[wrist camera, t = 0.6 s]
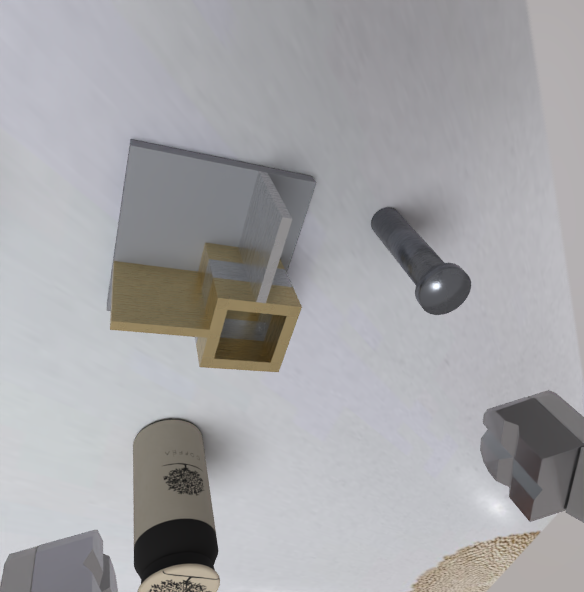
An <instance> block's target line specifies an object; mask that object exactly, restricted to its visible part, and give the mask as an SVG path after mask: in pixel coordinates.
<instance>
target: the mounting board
mask: <svg viewBox="0 0 584 592" xmlns="http://www.w3.org/2000/svg"><path fill="white" fill-rule="evenodd" d="M259 171H261V172H266V173H268V175H269V176H270V178H271V180H272V182H273V184H274V186H275V188H276V189H277V191H278V193H279V195H280V197H281V199H282V200H283V202H284V204H285V206H286V208H287V210H288V212H289V213H290V215H291V217H292V222H291V225H290V229H289V232H288V235H287V238H286V241H285V244H284V247H283V251H282V254H281V257H280V259H281V262H282V264H283V266H284V268H285V271H286V273H287V270H288V267H289V264H290V261H291V258H292V255H293V252H294V249H295V246H296V243H297V240H298V237H299V234H300V231H301V228H302V225H303V222H304V219H305V216H306V213H307V210H308V207H309V203H310V200H311V197H312V194H313V191H314V188H315V185H316V181H315V180H314V179H313V177H312V176H308V175H303V174H298V173H293V172H288V171H284V170H279V169H274V168H269V167H264V166H259V165H254V164H249V163H244V162H240V161H235V160H230V159H225V158H220V157H215V156H210V155H205V154H201V153H196V152H191V151H186V150H181V149H176V148H171V147H166V146H161V145H157V144H152V143H147V142H142V141H137V140H132V139H131V140H130V147H129V154H128V161H127V168H126V175H125V182H124V189H123V196H122V203H121V210H120V217H119V224H118V231H117V238H116V244H115V251H114V258H113V264H114V261H119V262H127V263H135V264H143V265H151V266H159V267H167V268H174V269H182V270H190V271H198V270H199V266H200V262H201V257H202V253H203V249H204V245H205V242H206V243H212V244H219V245H226V246H233V247H238V246H239V242H240V238H241V235H242V231H243V227H244V224H245V220H246V216H247V213H248V209H249V205H250V201H251V198H252V194H253V190H254V187H255V183H256V179H257V176H258V172H259ZM112 276H113V265H112V272H111V279H110V286H109V293H108V300H107V311H111V297H112Z"/></svg>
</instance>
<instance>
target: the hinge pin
mask: <svg viewBox="0 0 584 592" xmlns="http://www.w3.org/2000/svg"><path fill="white" fill-rule="evenodd" d="M371 227H372V229H373V231H374V232H375V233H376V235H377V236H378V237H379V239H380V240H381V241H382V242H383V244H384V245H385V246H386V247H387V249H388V250H389V251H390V253H391V254H392V255H393V256H394V258H395V259H396V260H397V262H398V263H399V264H400V265H401V267H402V268H403V269H404V271H405V272H406V273H407V274H408V276H409V277H410V278H411V279H412V281H413V282H414V283H415V285H416V289H415V296H416V299H417V301H418V302H419V304H420V305H421V306H422V308H423V309H424V310H425V311H426V312H428V313H430V314H434V315H441V314H446V313H449V312H451V311H453V310H455V309H456V308H458V307H459V306H460V305H461V304H462V303H463V302H464V301H465V300H466V298H467V296H468V295H469V292H470V289H471V281H470V278H469V276H468V275H467V274H466V273H465V272H464V270H463V269H462V268H461V267H460V266H458V265H456V264H453V263H444V262H443V261H442V260H441V259H440V257H439V256H438V255H437V254H436V253H435V252H434V251H433V250H432V249H431V248H430V247H429V245H428V244H427V243H426V242H425V241H424V240H423V239H422V238H421V237H420V236H419V234H418V233H417V232H416V231H415V230H414V229H413V228H412V227H411V226H410V225H409V224H408V222H407V221H406V220H405V219H404V218H403V217H402V216H401V215H400V214H399V213H398V212H397V210H395V209H394V208H390V207H387V208H383V209H381V210H379V211H378V212H376V214H375V215H374V216H373V218H372V221H371Z"/></svg>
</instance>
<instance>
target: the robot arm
mask: <svg viewBox="0 0 584 592" xmlns="http://www.w3.org/2000/svg"><path fill="white" fill-rule="evenodd" d="M483 424H484V425H485V426H486V428H487V429H488V430H487V431H486V432H485V434H484V435H483V436H482V438H481V447H480V451H481V454H482V458H483V462H484V464H485V466H486V467H487V469H488V471H489V473H490V474H491V475H492V476H493V478H494V479H495V480H496V481H498V482H500V483H502V484H504V485H506V486H509V497H510V499H511V500H512V501H513V502H514V503H515V505H516V506H517V507H518V508H519V509H520V511H521V512H522V513H523V514H524V515H525V517H526V518H527V519H528V520H529V521H530V522H531V521H534V520H537V519H540V518H543V517H546V516H550V515H553V514H556V513H559V512H562V511H565V510H566V513H568V514H569V515H571V516H573V517H575V518H576V519H578V520H580V521H582V522H584V417H583V416H582V415H581V414H579V413H578V412H577V411H576V410H575V409H574V408H573V407H571V406H570V405H569V404H568V403H567V402H566V401H564V400H563V399H562V398H561V397H560V396H559V395H557V394H556V393H555V392H552V391H549V390H548V391H545V392H541V393H538V394H535V395H532V396H529V397H524V398H521V399H518V400H515V401H512V402H509V403H505V404H502V405H499V406H496V407H493V408H490V409H487V411H486V412H485V413H484V417H483ZM0 592H118V588H117V581H116V575H115V571H114V568H113V564H112V562H111V559H110V557H109V556H108V555H105V554H103V540H102V538H101V536H100V534H99V532H98V530H92V531H89V532H85V533H81V534H78V535H74V536H71V537H67V538H64V539H60V540H56V541H53V542H49V543H46V544H42V545H39V546H36V547H33V548H29V549H26V550H22V551H19V552H15V553H12V554H9V556H8V558H7V560H6V562H5V564H4V569H3V575H2V581H1V586H0Z"/></svg>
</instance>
